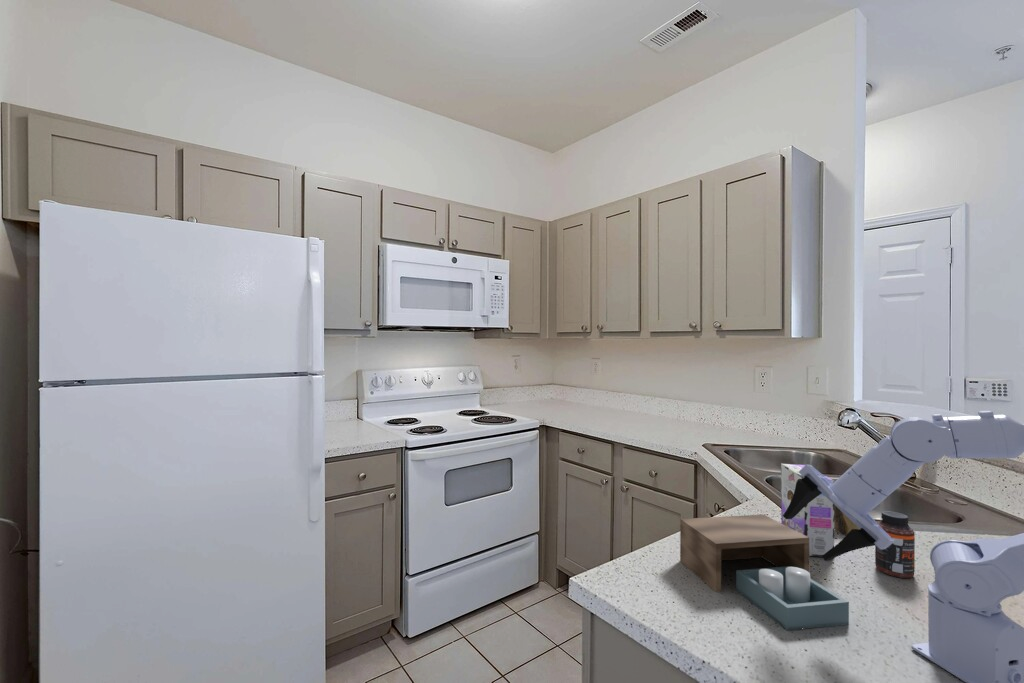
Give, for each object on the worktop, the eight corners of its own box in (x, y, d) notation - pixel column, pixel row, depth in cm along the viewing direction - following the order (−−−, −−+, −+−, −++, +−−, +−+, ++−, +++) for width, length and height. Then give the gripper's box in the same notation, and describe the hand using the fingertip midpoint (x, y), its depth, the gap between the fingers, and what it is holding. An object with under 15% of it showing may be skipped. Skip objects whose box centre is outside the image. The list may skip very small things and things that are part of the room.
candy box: (836, 559, 95) (835, 479, 95) (804, 556, 96) (804, 477, 96) (807, 533, 108) (807, 463, 108) (779, 531, 109) (779, 462, 110)
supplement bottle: (908, 582, 85) (908, 522, 85) (870, 569, 90) (870, 512, 90) (919, 574, 88) (919, 515, 89) (881, 562, 93) (881, 506, 94)
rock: (846, 509, 118) (812, 505, 117) (867, 489, 113) (832, 484, 112) (874, 549, 109) (837, 545, 108) (898, 529, 105) (860, 525, 103)
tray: (848, 624, 72) (848, 591, 72) (787, 630, 70) (787, 597, 70) (790, 585, 84) (790, 557, 84) (736, 590, 82) (736, 561, 82)
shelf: (809, 583, 84) (809, 537, 85) (716, 591, 81) (716, 543, 81) (763, 554, 96) (763, 514, 96) (680, 560, 93) (680, 519, 93)
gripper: (817, 443, 73) (759, 500, 78) (908, 521, 62) (834, 581, 67) (835, 447, 77) (779, 501, 82) (924, 521, 66) (853, 578, 71)
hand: (805, 537), depth 75 cm, fingers open, 7 cm apart
